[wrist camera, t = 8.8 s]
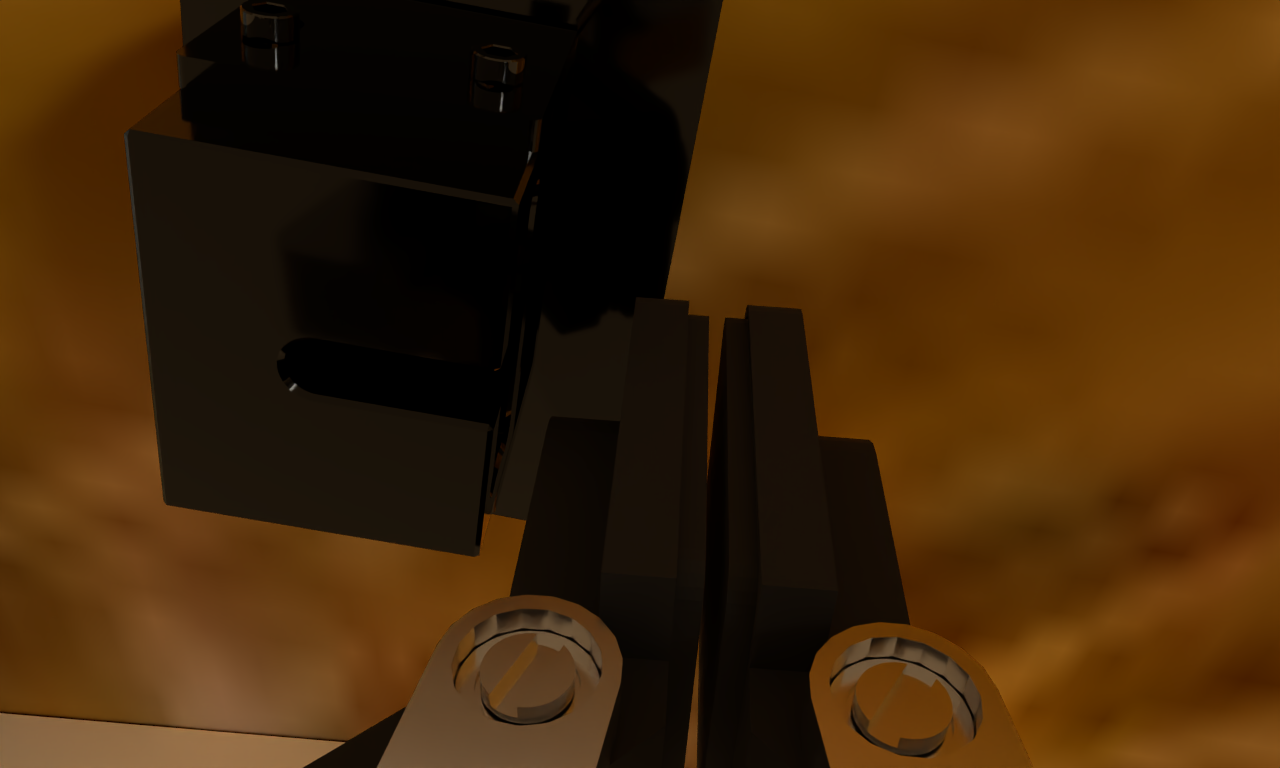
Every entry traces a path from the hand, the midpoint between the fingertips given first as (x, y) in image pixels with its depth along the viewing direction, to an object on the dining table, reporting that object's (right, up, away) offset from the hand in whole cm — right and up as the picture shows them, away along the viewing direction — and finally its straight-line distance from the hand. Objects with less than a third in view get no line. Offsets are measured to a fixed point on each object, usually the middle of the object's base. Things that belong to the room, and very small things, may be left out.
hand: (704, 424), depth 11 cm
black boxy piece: (-3, +3, +1) cm, 5 cm away
